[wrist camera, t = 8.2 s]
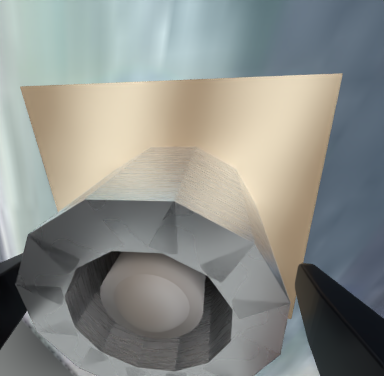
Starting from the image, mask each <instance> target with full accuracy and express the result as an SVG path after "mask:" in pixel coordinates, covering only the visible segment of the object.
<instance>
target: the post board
mask: <svg viewBox="0 0 384 376" xmlns="http://www.w3.org/2000/svg"><path fill="white" fill-rule="evenodd" d="M341 79H342V74H319V75H294V76H270V77H245V78H221V79H196V80H171V81H147V82H122V83H98V84H73V85H49V86H24V87H20V88H21V91H22V95H23V98H24V101H25V104H26V108H27V111H28V114H29V118H30V121H31V124H32V128H33V131H34V134H35V137H36V141H37V144H38V147H39V151H40V154H41V157H42V161H43V164H44V167H45V170H46V174H47V177H48V180H49V184H50V187H51V190H52V194H53V197H54V200H55V203H56V207H57V210H58V212H59V211H60V210H62V209H63V208H64V207H66V206H67V205H68V204H70V203H71V202H72V201H74V200H75V199H77V198H78V197H79V196H81V195H82V194H83V193H85V192H86V191H87V190H89V189H90V188H91V187H93V186H94V185H96V184H97V183H98V182H100V181H101V180H102V179H104V178H105V177H106V176H108V175H109V174H110V173H112V172H113V171H115V170H116V169H117V168H119V167H121V166H122V165H124V164H125V163H127V162H128V161H130V160H132V159H133V158H135V157H136V156H138V155H139V154H141V153H143V152H144V151H146V150H147V149H149V148H150V147H198V148H200V149H202V150H203V151H205V152H207V153H209V154H211V155H212V156H214V157H216V158H218V159H219V160H221V161H223V162H225V163H227V164H228V165H230V166H232V167H234V168H236V170H237V171H238V173H239V175H240V177H241V179H242V180H243V182H244V184H245V186H246V187H247V189H248V191H249V193H250V195H251V196H252V198H253V200H254V202H255V203H256V205H257V208H258V211H259V214H260V217H261V220H262V223H263V225H264V228H265V231H266V234H267V237H268V240H269V243H270V245H271V248H272V251H273V254H274V257H275V260H276V263H277V265H278V268H279V271H280V274H281V277H282V280H283V283H284V285H285V288H286V291H287V294H288V297H289V300H290V303H291V304H290V309H289V314H288V319H291V317H292V313H293V308H294V303H295V298H296V291H295V279H296V274H297V269H298V265H299V264H301V263H303V260H304V256H305V251H306V246H307V241H308V236H309V232H310V227H311V222H312V217H313V213H314V208H315V203H316V198H317V194H318V189H319V184H320V179H321V174H322V170H323V165H324V160H325V155H326V151H327V146H328V141H329V136H330V132H331V127H332V122H333V117H334V112H335V108H336V103H337V98H338V93H339V89H340V84H341ZM205 276H206V275H205V274H203V273H201V272H199V271H197V270H195V269H193V268H191V267H189V266H187V265H185V264H183V263H181V262H179V261H177V260H175V259H173V258H171V257H169V256H167V255H165V254H163V253H144V252H123V251H122V252H121V253H120V255H119V256H118V258H117V260H116V261H115V263H114V265H113V266H112V268H111V269H110V271H109V273H108V274H107V276H106V278H105V279H104V281H103V283H102V286H101V291H100V296H101V301H102V304H103V306H104V308H105V310H106V312H107V313H108V314H109V316H110V317H111V318H112V319H113V320H114V321H115V322H116V323H118V324H119V325H120V326H122V327H123V328H125V329H127V330H129V331H131V332H133V333H135V334H138V335H141V336H144V337H149V338H156V339H169V338H175V337H179V336H182V335H184V334H186V333H188V332H190V331H191V330H193V329H194V328H195V327H196V326H197V325H198V323H199V322H200V320H201V318H202V315H203V305H204V291H205Z"/></svg>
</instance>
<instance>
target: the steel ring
mask: <svg viewBox="0 0 384 376" xmlns="http://www.w3.org/2000/svg"><path fill="white" fill-rule="evenodd" d="M122 251H123V252H144V253H163V254H165V255H167V256H169V257H171V258H173V259H175V260H177V261H179V262H181V263H183V264H185V265H187V266H189V267H191V268H193V269H195V270H197V271H199V272H201V273H203V274H205V275H206V276H205V291H204V305H203V315H202V318H201V320H200V322H199V323H198V325H197V326H196V327H195V328H194V329H193V330H191V331H190V332H188V333H186V334H184V335H182V336H179V337H175V338H169V339H156V338H149V337H144V336H141V335H138V334H135V333H133V332H131V331H129V330H127V329H125V328H123V327H122V326H120V325H119V324H118V323H116V322H115V321H114V320H113V319H112V318H111V317H110V316H109V314H108V313H107V312H106V310H105V308H104V306H103V304H102V301H101V296H100V291H101V286H102V283H103V281H104V279H105V278H106V276H107V274H108V273H109V271H110V269H111V268H112V266H113V265H114V263H115V261H116V260H117V258H118V256H119V255H120V253H121V252H122ZM15 285H16V287H17V289H18V291H19V293H20V296H21V298H22V300H23V302H24V304H25V307H26V309H27V311H28V313H29V315H30V318H31V320H32V322H33V324H34V326H35V329H36V331H37V332H38V333H39V334H40V335H41V336H42V337H44V338H45V339H46V340H47V341H48V342H49V343H51V344H52V345H53V346H54V347H55V348H56V349H58V350H59V351H60V352H61V353H62V354H63V355H65V356H66V357H67V358H68V359H69V360H70V361H72V362H73V363H74V364H75V365H76V366H77V367H79V368H80V369H83V370H85V371H88V372H90V373H92V374H95V375H97V376H254V375H255V374H256V373H257V372H259V371H260V370H261V369H263V368H264V367H265V366H266V365H268V364H269V363H270V362H271V361H273V360H274V359H275V358H276V357H278V356H279V355H280V354H281V349H282V344H283V339H284V334H285V329H286V324H287V319H288V314H289V309H290V304H291V303H290V300H289V297H288V294H287V291H286V288H285V285H284V283H283V280H282V277H281V274H280V271H279V268H278V265H277V263H276V260H275V257H274V254H273V251H272V248H271V245H270V243H269V240H268V237H267V234H266V231H265V228H264V225H263V223H262V220H261V217H260V214H259V211H258V208H257V205H256V203H255V202H254V200H253V198H252V196H251V195H250V193H249V191H248V189H247V187H246V186H245V184H244V182H243V180H242V179H241V177H240V175H239V173H238V171H237V170H236V168H234V167H232V166H230V165H228V164H227V163H225V162H223V161H221V160H219V159H218V158H216V157H214V156H212V155H211V154H209V153H207V152H205V151H203V150H202V149H200V148H198V147H150V148H149V149H147V150H146V151H144V152H143V153H141V154H139V155H138V156H136V157H135V158H133V159H132V160H130V161H128V162H127V163H125V164H124V165H122V166H121V167H119V168H117V169H116V170H115V171H113V172H112V173H110V174H109V175H108V176H106V177H105V178H104V179H102V180H101V181H100V182H98V183H97V184H96V185H94V186H93V187H91V188H90V189H89V190H87V191H86V192H85V193H83V194H82V195H81V196H79V197H78V198H77V199H75V200H74V201H72V202H71V203H70V204H68V205H67V206H66V207H64V208H63V209H62V210H60V211H59V212H58V213H56V214H55V215H53V216H52V217H51V218H49V219H48V220H47V221H45V222H44V223H43V224H41V225H40V226H39V227H37V228H36V229H34V230H33V231H32V232H30V233H29V234H28V237H27V241H26V245H25V249H24V253H23V257H22V261H21V265H20V269H19V272H18V276H17V280H16V284H15Z"/></svg>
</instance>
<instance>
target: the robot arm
mask: <svg viewBox="0 0 384 376" xmlns="http://www.w3.org/2000/svg"><path fill="white" fill-rule="evenodd" d="M22 257H23V253H22V254H20V255H18V256H15V257H13V258H11V259H8V260H6V261H4V262H1V263H0V350H1V348H2V347H3V345H4V343H5V342H6V341H7V340H8V338H9V337H10V335H11V334H12V332H13V331H14V329H15V328H16V327H17V325H18V324H19V322H20V321H21V319H22V318H23V316H24V315H25V313H26V312H27V309H26V307H25V304H24V302H23V300H22V298H21V296H20V293H19V291H18V289H17V287H16V285H15V284H16V280H17V276H18V272H19V269H20V265H21V261H22ZM295 291H296V295H297V299H298V303H299V307H300V311H301V315H302V319H303V323H304V327H305V331H306V335H307V339H308V342H309V345H310V348H311V351H312V354H313V357H314V359H315V362H316V365H317V368H318V371H319V373H320V376H384V318H382V317H381V316H380V315H378V314H377V313H376V312H375V311H373V310H372V309H371V308H369V307H368V306H367V305H365V304H364V303H363V302H362V301H360V300H359V299H358V298H356V297H355V296H354V295H353V294H351V293H350V292H349V291H347V290H346V289H345V288H344V287H342V286H341V285H340V284H338V283H337V282H336V281H335V280H333V279H332V278H331V277H329V276H328V275H327V274H325V273H324V272H323V271H322V270H320V269H319V268H318V267H316V266H315V265H313V264H306V263H301V264H299V265H298V269H297V274H296V279H295Z"/></svg>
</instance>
